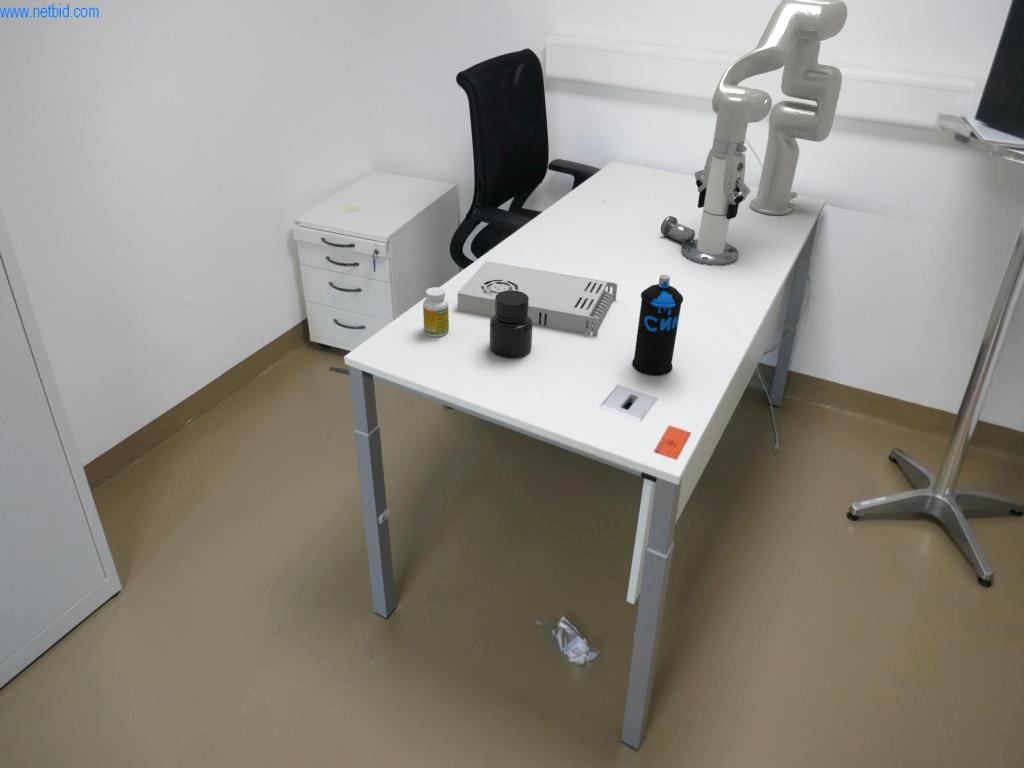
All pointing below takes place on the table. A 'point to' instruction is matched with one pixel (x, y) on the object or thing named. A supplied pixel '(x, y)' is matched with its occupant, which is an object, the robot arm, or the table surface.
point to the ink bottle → (511, 325)
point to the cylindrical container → (714, 212)
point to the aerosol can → (657, 328)
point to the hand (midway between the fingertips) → (716, 212)
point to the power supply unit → (541, 296)
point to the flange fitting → (695, 244)
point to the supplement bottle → (435, 312)
